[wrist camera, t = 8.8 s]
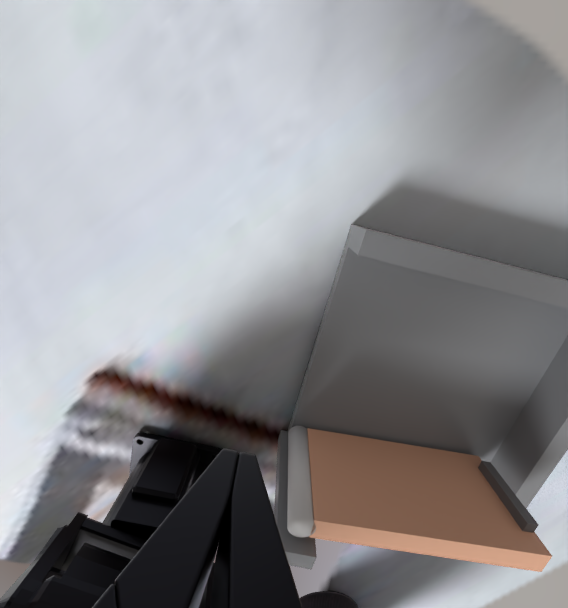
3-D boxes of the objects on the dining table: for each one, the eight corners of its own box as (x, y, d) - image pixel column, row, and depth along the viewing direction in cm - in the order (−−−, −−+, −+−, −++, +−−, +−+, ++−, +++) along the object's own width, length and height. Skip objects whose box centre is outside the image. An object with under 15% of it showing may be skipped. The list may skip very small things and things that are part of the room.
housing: (480, 482, 23) (571, 617, 16) (278, 439, 22) (271, 561, 15) (598, 287, 18) (820, 350, 11) (343, 222, 17) (384, 238, 10)
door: (286, 440, 21) (285, 535, 15) (291, 417, 20) (292, 507, 14) (471, 470, 21) (540, 573, 15) (481, 449, 21) (557, 548, 15)
